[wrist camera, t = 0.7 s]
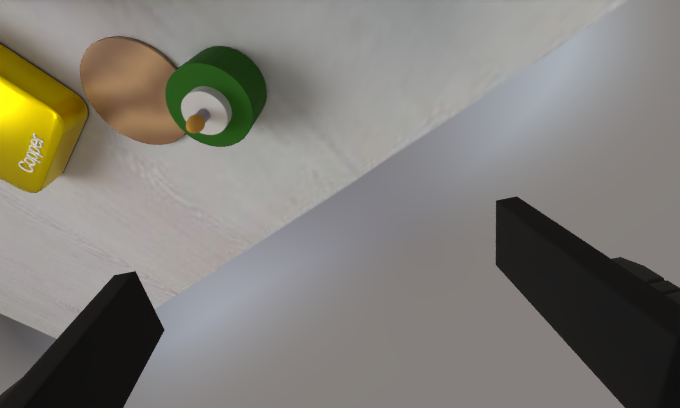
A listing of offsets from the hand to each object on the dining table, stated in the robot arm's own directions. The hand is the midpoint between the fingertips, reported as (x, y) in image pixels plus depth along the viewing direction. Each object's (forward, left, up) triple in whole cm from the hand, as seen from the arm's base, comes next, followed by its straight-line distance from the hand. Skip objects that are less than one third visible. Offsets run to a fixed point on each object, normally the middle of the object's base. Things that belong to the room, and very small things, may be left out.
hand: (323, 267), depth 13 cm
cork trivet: (-10, -22, -27) cm, 37 cm away
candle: (-5, -13, -28) cm, 31 cm away
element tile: (-18, -36, -28) cm, 49 cm away
